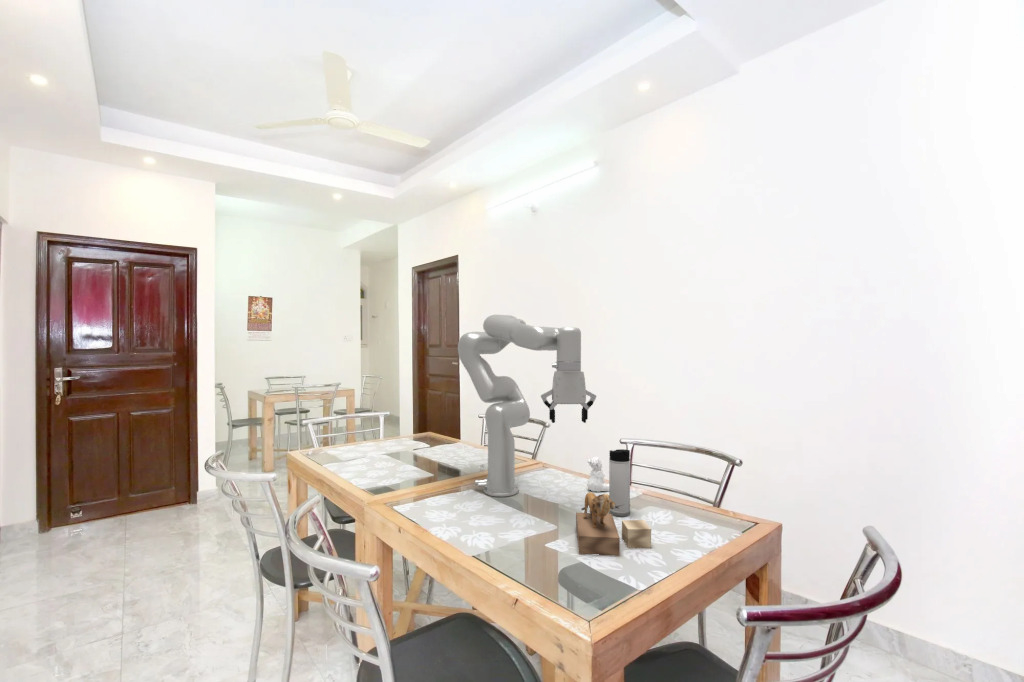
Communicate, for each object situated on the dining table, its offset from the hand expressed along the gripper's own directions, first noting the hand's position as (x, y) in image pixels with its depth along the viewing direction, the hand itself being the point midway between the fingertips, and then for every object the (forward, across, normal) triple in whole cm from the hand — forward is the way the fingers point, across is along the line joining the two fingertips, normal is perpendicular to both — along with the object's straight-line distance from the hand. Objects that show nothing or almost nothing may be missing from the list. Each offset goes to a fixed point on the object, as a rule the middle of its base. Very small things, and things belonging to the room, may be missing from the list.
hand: (568, 422), depth 141 cm
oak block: (+28, +14, -22) cm, 39 cm away
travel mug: (+28, +16, -1) cm, 33 cm away
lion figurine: (+24, +4, -19) cm, 31 cm away
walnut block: (+29, +4, -20) cm, 35 cm away
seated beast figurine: (+28, +15, +22) cm, 39 cm away
